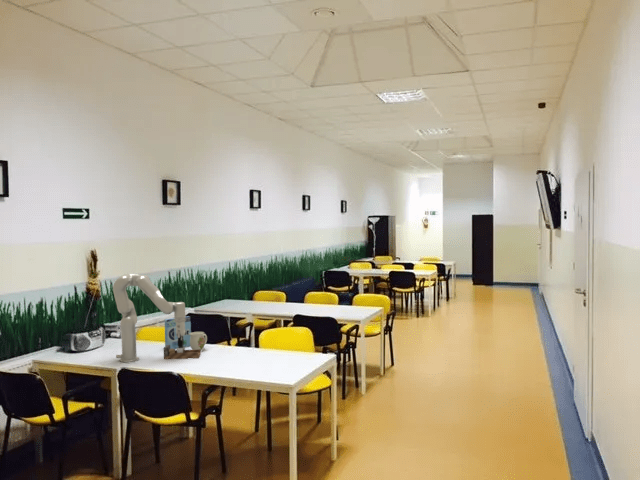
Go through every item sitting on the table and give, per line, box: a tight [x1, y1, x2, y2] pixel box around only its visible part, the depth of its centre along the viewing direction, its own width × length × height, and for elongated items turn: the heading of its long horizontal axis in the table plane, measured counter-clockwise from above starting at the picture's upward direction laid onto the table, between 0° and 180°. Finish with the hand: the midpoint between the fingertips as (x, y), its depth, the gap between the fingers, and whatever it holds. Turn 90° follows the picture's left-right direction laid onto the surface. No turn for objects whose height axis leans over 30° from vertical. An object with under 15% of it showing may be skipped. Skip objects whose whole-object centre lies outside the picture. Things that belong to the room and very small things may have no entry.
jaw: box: [176, 335, 186, 353], centre depth 390 cm, size 4×7×13 cm, turn 3°
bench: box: [163, 345, 202, 360], centre depth 390 cm, size 24×10×8 cm, turn 93°
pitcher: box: [189, 331, 208, 352], centre depth 410 cm, size 11×18×14 cm, turn 149°
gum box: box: [164, 315, 192, 350], centre depth 420 cm, size 20×5×23 cm, turn 127°
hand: (180, 345), depth 390 cm, fingers closed on jaw, 3 cm apart
